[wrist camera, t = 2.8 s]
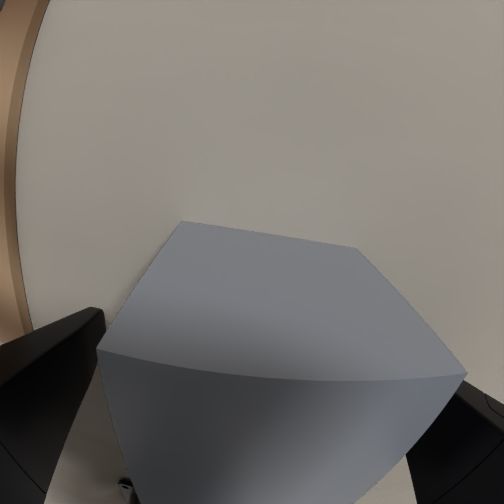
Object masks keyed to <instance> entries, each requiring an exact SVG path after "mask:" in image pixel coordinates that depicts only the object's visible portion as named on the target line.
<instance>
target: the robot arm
mask: <svg viewBox="0 0 504 504" xmlns="http://www.w3.org/2000/svg"><path fill="white" fill-rule="evenodd" d="M105 333H106V327H105V317H104V312H103V310H102V309H99V308H95V307H88V308H86V309H84V310H81V311H79V312H76V313H74V314H72V315H69V316H67V317H65V318H62V319H60V320H58V321H55V322H53V323H51V324H49V325H46V326H44V327H42V328H39V329H37V330H35V331H32V332H30V333H28V334H25V335H23V336H21V337H19V338H16V339H14V340H12V341H9V342H7V343H5V344H3V345H1V346H0V504H44V501H45V498H46V495H45V494H47V491H48V488H49V485H50V482H51V479H52V476H53V473H54V470H55V468H56V465H57V462H58V459H59V457H60V454H61V451H62V449H63V446H64V443H65V441H66V438H67V436H68V433H69V431H70V428H71V426H72V424H73V421H74V419H75V416H76V414H77V412H78V409H79V407H80V405H81V402H82V400H83V398H84V396H85V393H86V391H87V389H88V387H89V385H90V382H91V380H92V377H93V374H94V371H95V368H96V365H97V362H98V357H97V352H96V348H97V346H98V344H99V343H100V341H101V339H102V338H103V336H104V334H105ZM405 455H406V459H407V462H408V466H409V470H410V474H411V479H412V483H413V487H414V492H415V496H416V501H417V504H504V404H502V403H500V402H499V401H497V400H495V399H494V398H492V397H490V396H489V395H487V394H485V393H483V392H482V391H481V390H479V389H477V388H476V387H474V386H472V385H471V384H469V383H468V382H466V381H464V380H463V381H462V383H461V384H460V386H459V387H458V389H457V390H456V391H455V393H454V394H453V396H452V397H451V399H450V400H449V401H448V403H447V404H446V406H445V407H444V408H443V410H442V411H441V412H440V414H439V415H438V416H437V418H436V419H435V420H434V421H433V423H432V424H431V425H430V426H429V428H428V429H427V430H426V431H425V433H424V434H423V435H422V436H421V437H420V438H419V440H418V441H417V442H416V443H415V444H414V445H413V446H412V448H411V449H410V450H409V451H408V452H407V453H406V454H405ZM118 486H119V488H120V490H121V492H122V494H123V496H124V498H125V500H126V502H127V504H141V503H140V501H139V499H138V496H137V494H136V492H135V489H134V487H133V484H132V482H131V481H128V480H123V479H120V480H119V483H118Z"/></svg>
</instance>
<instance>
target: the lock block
mask: <svg viewBox="0 0 504 504" xmlns="http://www.w3.org/2000/svg"><path fill="white" fill-rule="evenodd" d="M96 352H97V357H98V363H99V368H100V373H101V378H102V383H103V388H104V392H105V396H106V400H107V405H108V409H109V412H110V416H111V420H112V424H113V427H114V431H115V434H116V437H117V441H118V444H119V447H120V450H121V453H122V456H123V459H124V462H125V465H126V468H127V471H128V473H129V476H130V479H131V481H132V484H133V487H134V489H135V492H136V494H137V496H138V499H139V501H140V503H141V504H353V503H355V502H356V501H357V500H358V499H359V498H360V497H362V496H363V495H364V494H365V493H366V492H367V491H368V490H370V489H371V488H372V487H373V486H374V485H375V484H376V483H377V482H378V481H379V480H380V479H382V478H383V477H384V476H385V475H386V474H387V473H388V472H389V471H390V470H391V469H392V468H393V467H394V466H395V465H396V464H397V463H398V462H399V461H400V459H401V458H402V457H403V456H404V455H405V454H406V453H407V452H408V451H409V450H410V449H411V448H412V446H413V445H414V444H415V443H416V442H417V441H418V440H419V438H420V437H421V436H422V435H423V434H424V433H425V431H426V430H427V429H428V428H429V426H430V425H431V424H432V423H433V421H434V420H435V419H436V418H437V416H438V415H439V414H440V412H441V411H442V410H443V408H444V407H445V406H446V404H447V403H448V401H449V400H450V399H451V397H452V396H453V394H454V393H455V391H456V390H457V389H458V387H459V386H460V384H461V383H462V381H463V379H464V378H465V376H466V375H467V373H468V372H467V371H466V370H465V368H464V367H463V366H462V365H461V363H460V362H459V361H458V360H457V358H456V357H455V356H454V355H453V354H452V352H451V351H450V350H449V349H448V347H447V346H446V345H445V344H444V343H443V341H442V340H441V339H440V338H439V337H438V336H437V334H436V333H435V332H434V331H433V330H432V329H431V327H430V326H429V325H428V324H427V323H426V322H425V321H424V319H423V318H422V317H421V316H420V315H419V314H418V313H417V311H416V310H415V309H414V308H413V307H412V306H411V305H410V304H409V303H408V301H407V300H406V299H405V298H404V297H403V296H402V295H401V294H400V293H399V292H398V291H397V290H396V288H395V287H394V286H393V285H392V284H391V283H390V282H389V281H388V280H387V279H386V278H385V277H384V276H383V275H382V274H381V273H380V272H379V271H378V269H377V268H376V267H375V266H374V265H373V264H372V263H371V262H370V261H369V260H368V259H367V258H366V257H365V256H364V255H363V254H362V253H361V252H360V251H359V250H358V249H356V248H351V247H345V246H339V245H333V244H327V243H321V242H315V241H309V240H303V239H297V238H291V237H285V236H279V235H272V234H266V233H260V232H253V231H247V230H241V229H234V228H227V227H221V226H214V225H207V224H201V223H194V222H187V221H182V222H181V223H180V224H179V226H178V227H177V228H176V230H175V231H174V232H173V234H172V235H171V236H170V238H169V239H168V241H167V242H166V243H165V245H164V246H163V248H162V249H161V250H160V252H159V253H158V255H157V256H156V257H155V259H154V260H153V262H152V263H151V264H150V266H149V267H148V269H147V270H146V272H145V273H144V275H143V276H142V278H141V279H140V280H139V282H138V283H137V285H136V286H135V288H134V289H133V291H132V292H131V294H130V295H129V297H128V298H127V300H126V301H125V303H124V305H123V306H122V308H121V309H120V311H119V312H118V314H117V315H116V317H115V318H114V320H113V322H112V323H111V325H110V326H109V328H108V330H107V331H106V333H105V334H104V336H103V338H102V339H101V341H100V343H99V344H98V346H97V348H96Z"/></svg>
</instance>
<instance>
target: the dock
mask: <svg viewBox="0 0 504 504" xmlns="http://www.w3.org/2000/svg"><path fill="white" fill-rule="evenodd" d="M48 3H49V0H0V341H1V342H4V343H7V342H9V341H12V340H14V339H16V338H19V337H21V336H23V335H25V334H28V333H30V332H32V331H33V328H32V324H31V320H30V315H29V311H28V306H27V301H26V296H25V291H24V285H23V279H22V273H21V266H20V258H19V250H18V240H17V228H16V209H15V166H16V148H17V136H18V126H19V118H20V111H21V104H22V98H23V92H24V87H25V82H26V77H27V72H28V68H29V64H30V59H31V56H32V52H33V48H34V44H35V41H36V38H37V34H38V31H39V28H40V25H41V22H42V19H43V16H44V13H45V11H46V8H47V5H48Z"/></svg>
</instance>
